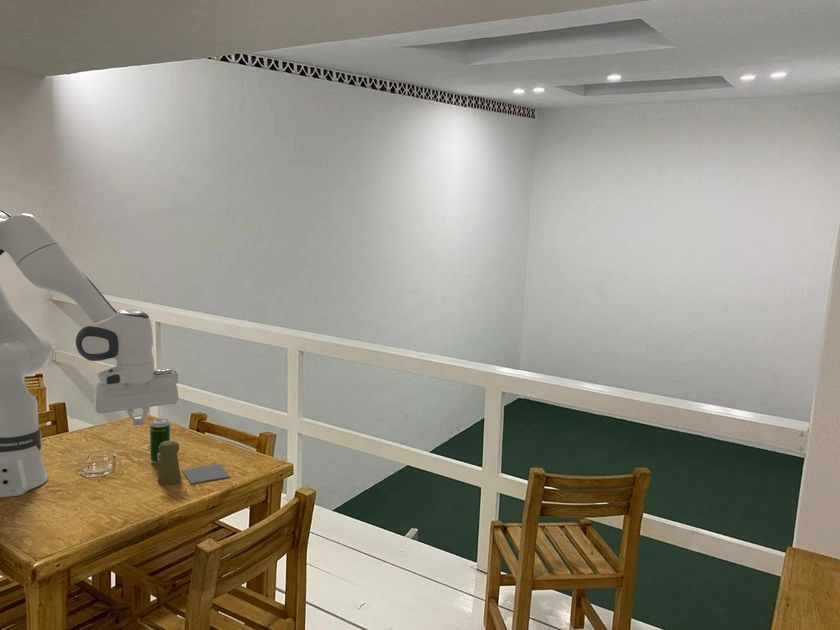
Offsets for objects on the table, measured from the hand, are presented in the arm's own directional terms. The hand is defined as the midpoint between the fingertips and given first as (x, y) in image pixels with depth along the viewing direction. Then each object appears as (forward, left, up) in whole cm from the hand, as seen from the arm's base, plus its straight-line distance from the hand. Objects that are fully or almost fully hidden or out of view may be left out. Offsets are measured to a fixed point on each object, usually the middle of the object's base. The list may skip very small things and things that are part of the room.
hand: (138, 424), depth 174 cm
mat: (+17, 0, -17) cm, 24 cm away
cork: (+8, 0, -17) cm, 19 cm away
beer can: (+9, +16, -17) cm, 25 cm away
